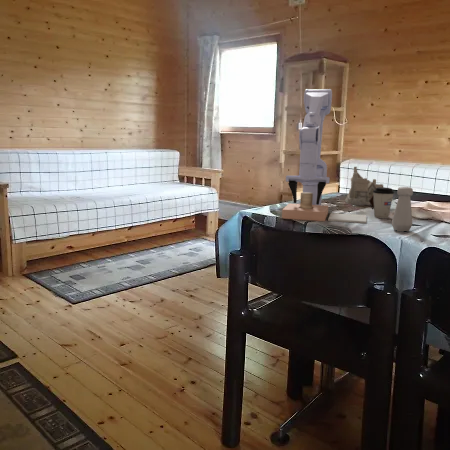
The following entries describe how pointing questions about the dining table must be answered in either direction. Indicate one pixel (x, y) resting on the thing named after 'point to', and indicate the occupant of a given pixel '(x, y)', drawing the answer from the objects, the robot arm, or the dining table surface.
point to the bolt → (372, 200)
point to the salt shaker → (403, 210)
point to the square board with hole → (305, 212)
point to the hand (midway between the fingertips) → (306, 203)
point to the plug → (306, 200)
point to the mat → (347, 218)
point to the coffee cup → (382, 201)
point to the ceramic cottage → (361, 190)
